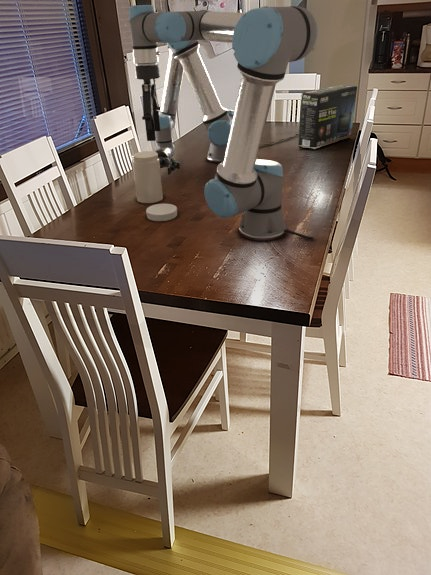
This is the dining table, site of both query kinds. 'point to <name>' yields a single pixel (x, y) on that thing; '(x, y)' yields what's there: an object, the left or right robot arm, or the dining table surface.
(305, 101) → the router box
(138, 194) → the jar
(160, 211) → the lid
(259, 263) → the dining table surface
